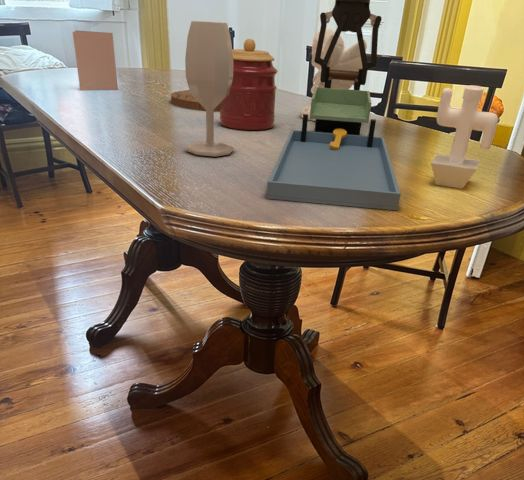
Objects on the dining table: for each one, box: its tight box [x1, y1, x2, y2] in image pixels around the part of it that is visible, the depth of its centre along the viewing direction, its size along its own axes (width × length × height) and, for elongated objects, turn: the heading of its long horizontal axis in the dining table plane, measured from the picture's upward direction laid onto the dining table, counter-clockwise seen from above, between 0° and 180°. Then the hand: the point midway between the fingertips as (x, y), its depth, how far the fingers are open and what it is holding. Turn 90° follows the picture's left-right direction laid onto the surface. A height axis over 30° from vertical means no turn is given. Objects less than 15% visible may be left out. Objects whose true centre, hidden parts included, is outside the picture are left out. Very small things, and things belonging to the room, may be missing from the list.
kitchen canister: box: [219, 38, 278, 131], centre depth 117 cm, size 13×13×18 cm
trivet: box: [170, 89, 221, 112], centre depth 145 cm, size 25×25×2 cm
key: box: [329, 128, 347, 150], centre depth 104 cm, size 7×3×1 cm, turn 166°
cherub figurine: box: [300, 28, 368, 122], centre depth 130 cm, size 13×12×20 cm
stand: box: [301, 114, 377, 148], centre depth 111 cm, size 14×15×6 cm
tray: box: [266, 129, 402, 211], centre depth 91 cm, size 40×19×2 cm, turn 172°
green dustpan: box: [310, 69, 372, 124], centre depth 113 cm, size 24×12×6 cm, turn 172°
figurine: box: [430, 84, 499, 190], centre depth 84 cm, size 7×9×15 cm
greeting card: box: [72, 29, 119, 91], centre depth 153 cm, size 11×7×15 cm, turn 84°
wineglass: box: [184, 20, 234, 158], centre depth 92 cm, size 9×9×21 cm
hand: (340, 98), depth 123 cm, fingers closed on green dustpan, 7 cm apart
